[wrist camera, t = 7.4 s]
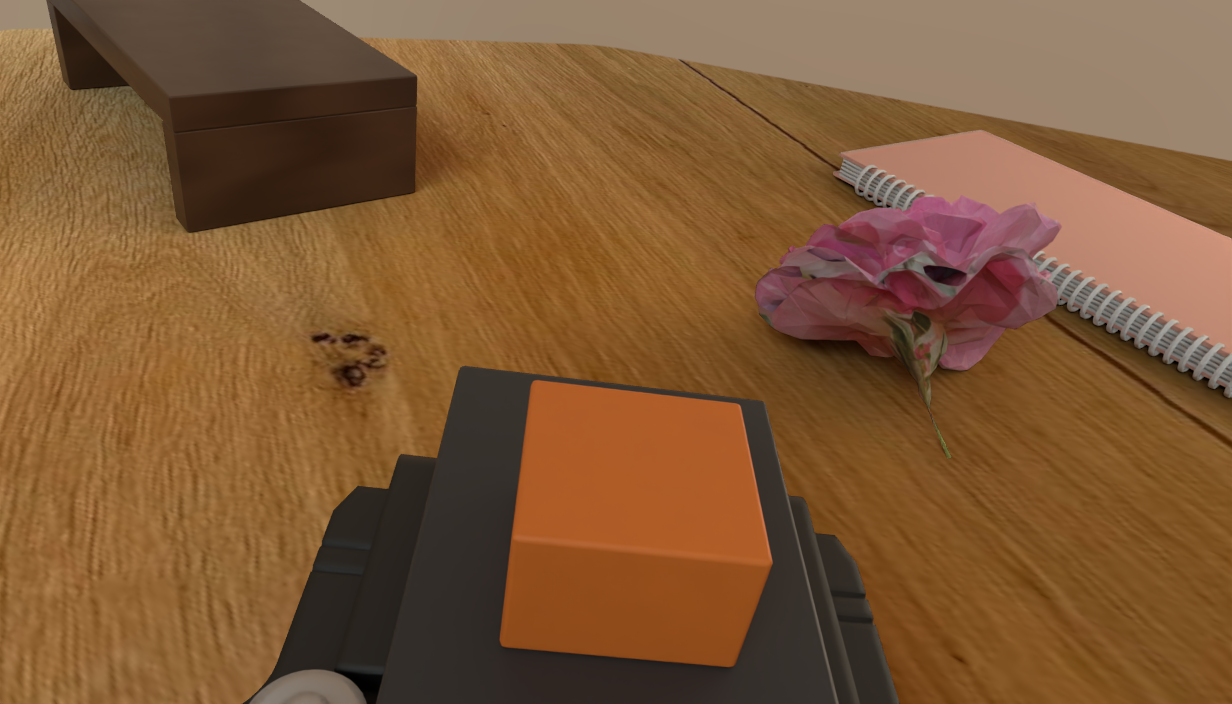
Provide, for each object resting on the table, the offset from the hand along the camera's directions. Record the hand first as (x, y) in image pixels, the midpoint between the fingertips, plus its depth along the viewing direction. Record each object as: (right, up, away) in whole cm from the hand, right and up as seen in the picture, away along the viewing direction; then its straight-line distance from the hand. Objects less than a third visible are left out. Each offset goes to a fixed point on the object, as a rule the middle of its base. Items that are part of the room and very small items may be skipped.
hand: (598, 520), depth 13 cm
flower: (+11, +2, +24) cm, 27 cm away
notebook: (+28, +8, +37) cm, 47 cm away
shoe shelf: (-20, +14, +33) cm, 42 cm away
